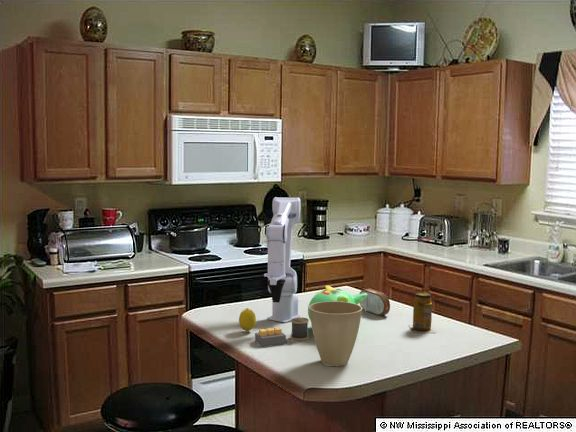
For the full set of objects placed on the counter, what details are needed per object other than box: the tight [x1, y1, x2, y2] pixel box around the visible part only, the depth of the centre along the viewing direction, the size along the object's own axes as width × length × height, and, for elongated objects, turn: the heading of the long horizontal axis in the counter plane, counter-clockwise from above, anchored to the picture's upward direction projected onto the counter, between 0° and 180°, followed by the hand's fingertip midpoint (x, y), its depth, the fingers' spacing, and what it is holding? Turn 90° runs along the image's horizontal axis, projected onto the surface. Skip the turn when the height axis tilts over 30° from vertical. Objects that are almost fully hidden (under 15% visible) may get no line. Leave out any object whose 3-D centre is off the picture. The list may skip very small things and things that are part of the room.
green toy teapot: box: [307, 285, 367, 322], centre depth 204 cm, size 18×17×15 cm
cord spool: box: [290, 316, 310, 342], centre depth 196 cm, size 6×6×6 cm
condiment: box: [408, 292, 437, 334], centre depth 206 cm, size 7×8×12 cm
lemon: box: [238, 307, 257, 333], centre depth 202 cm, size 6×6×8 cm
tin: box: [359, 288, 391, 317], centre depth 227 cm, size 15×3×8 cm, turn 33°
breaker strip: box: [254, 326, 287, 348], centre depth 192 cm, size 8×6×4 cm
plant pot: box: [308, 301, 363, 367], centre depth 174 cm, size 15×15×16 cm
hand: (276, 301), depth 203 cm, fingers closed
